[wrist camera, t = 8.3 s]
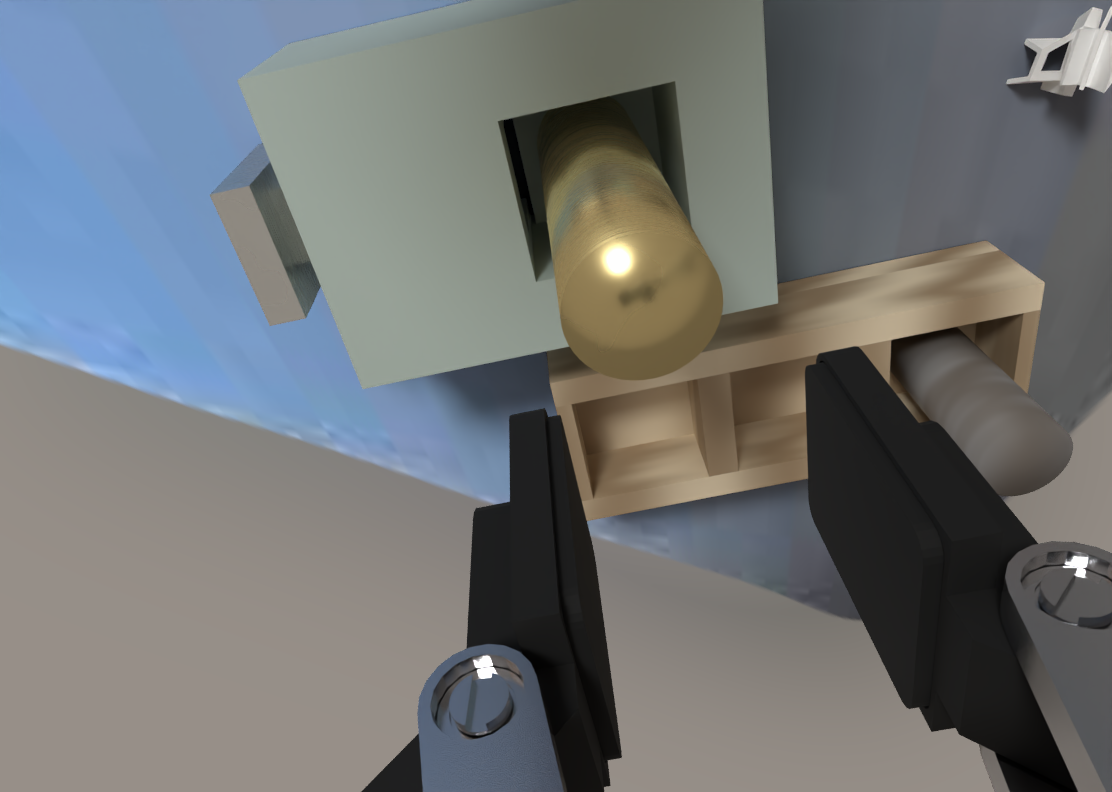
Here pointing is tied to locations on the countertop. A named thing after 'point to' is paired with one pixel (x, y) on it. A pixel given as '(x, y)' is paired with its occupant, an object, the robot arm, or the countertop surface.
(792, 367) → the rack
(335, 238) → the socket block
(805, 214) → the countertop surface
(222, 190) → the t-shaped push slider
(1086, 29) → the adhesive hook
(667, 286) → the gold cylindrical peg
